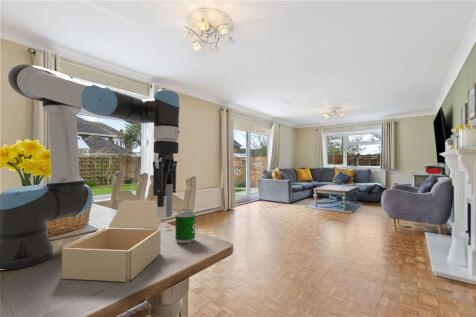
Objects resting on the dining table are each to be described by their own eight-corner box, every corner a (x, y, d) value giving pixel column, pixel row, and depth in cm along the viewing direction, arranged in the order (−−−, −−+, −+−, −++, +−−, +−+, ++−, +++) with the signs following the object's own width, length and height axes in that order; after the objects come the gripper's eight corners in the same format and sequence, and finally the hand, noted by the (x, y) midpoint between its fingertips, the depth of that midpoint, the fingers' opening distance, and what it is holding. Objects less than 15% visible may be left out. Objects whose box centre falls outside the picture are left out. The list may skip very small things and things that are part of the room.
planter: (163, 218, 71) (164, 184, 71) (153, 216, 73) (154, 183, 73) (175, 215, 75) (175, 183, 75) (165, 213, 77) (166, 182, 77)
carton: (58, 279, 63) (58, 248, 63) (105, 251, 83) (105, 227, 83) (129, 283, 61) (129, 251, 61) (161, 253, 81) (161, 229, 81)
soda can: (190, 245, 88) (190, 213, 88) (171, 243, 90) (172, 212, 90) (197, 238, 96) (197, 209, 96) (180, 237, 97) (180, 208, 97)
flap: (108, 226, 82) (123, 200, 91) (109, 227, 83) (124, 200, 92) (157, 228, 81) (167, 200, 90) (157, 228, 81) (168, 201, 90)
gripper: (166, 138, 65) (165, 223, 65) (186, 143, 82) (185, 209, 82) (140, 138, 66) (139, 221, 66) (166, 142, 83) (164, 208, 83)
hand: (164, 214), depth 74 cm, fingers closed on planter, 4 cm apart
